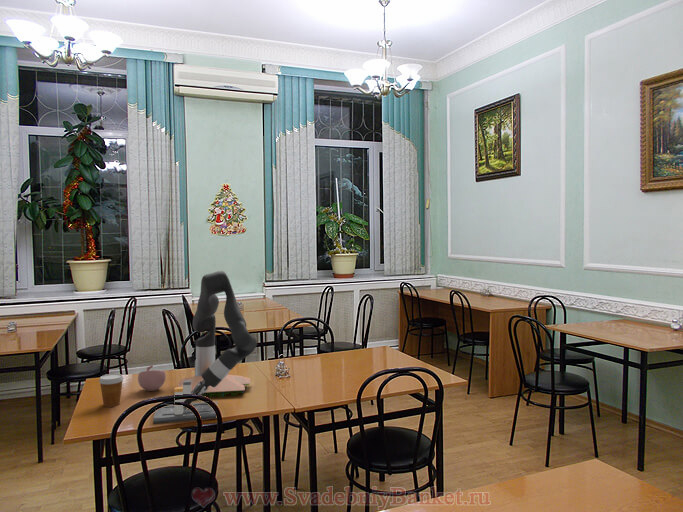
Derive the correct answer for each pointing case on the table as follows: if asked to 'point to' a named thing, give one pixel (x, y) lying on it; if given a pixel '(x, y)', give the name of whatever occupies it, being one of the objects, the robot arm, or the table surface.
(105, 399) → the disposable coffee cup
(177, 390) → the orange fader
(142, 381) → the pink apple
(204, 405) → the console
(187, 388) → the white fader
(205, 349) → the robot arm
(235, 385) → the pink cutting board
